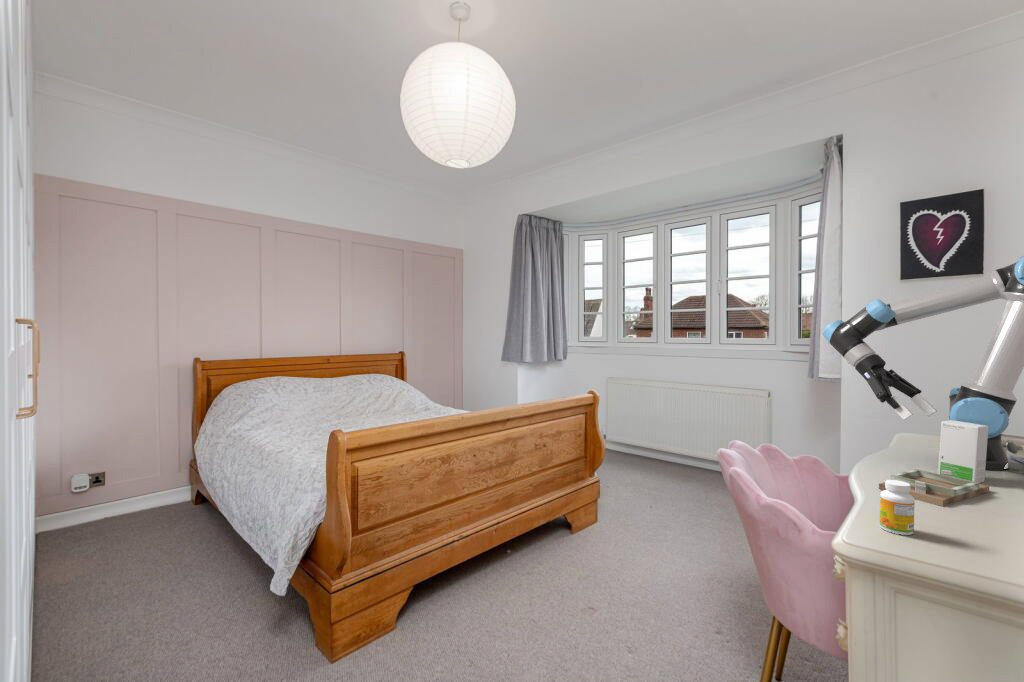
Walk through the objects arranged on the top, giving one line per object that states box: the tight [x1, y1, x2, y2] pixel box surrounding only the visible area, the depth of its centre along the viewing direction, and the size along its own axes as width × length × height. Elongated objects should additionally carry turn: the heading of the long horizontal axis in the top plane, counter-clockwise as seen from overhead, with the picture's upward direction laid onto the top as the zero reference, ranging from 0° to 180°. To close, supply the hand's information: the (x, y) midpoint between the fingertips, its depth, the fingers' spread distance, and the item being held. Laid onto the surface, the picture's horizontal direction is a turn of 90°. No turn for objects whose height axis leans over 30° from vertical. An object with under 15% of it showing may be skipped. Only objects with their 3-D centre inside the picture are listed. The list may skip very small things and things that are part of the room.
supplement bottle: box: [879, 479, 916, 536], centre depth 96 cm, size 5×5×10 cm
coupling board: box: [878, 468, 990, 507], centre depth 121 cm, size 24×13×3 cm, turn 116°
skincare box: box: [937, 419, 988, 484], centre depth 131 cm, size 8×7×16 cm
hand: (921, 415), depth 139 cm, fingers open, 13 cm apart
